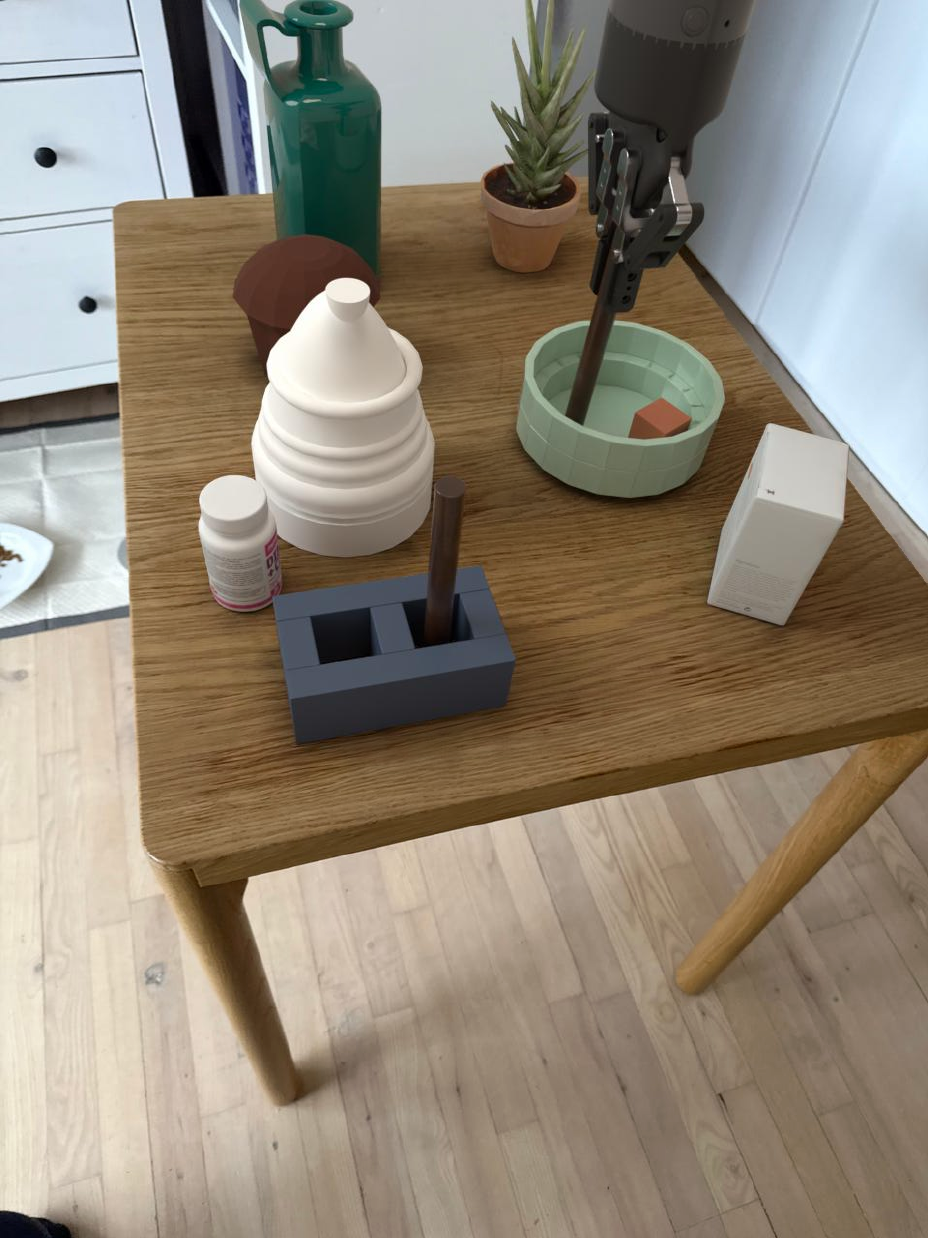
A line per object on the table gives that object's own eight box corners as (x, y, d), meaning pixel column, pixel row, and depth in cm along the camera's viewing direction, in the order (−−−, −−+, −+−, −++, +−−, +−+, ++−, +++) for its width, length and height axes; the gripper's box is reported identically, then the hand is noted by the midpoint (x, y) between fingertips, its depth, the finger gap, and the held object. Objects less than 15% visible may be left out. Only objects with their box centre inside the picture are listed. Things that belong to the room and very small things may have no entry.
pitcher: (356, 240, 89) (352, -20, 72) (387, 285, 84) (390, 19, 67) (260, 254, 86) (231, -14, 69) (286, 302, 81) (262, 29, 64)
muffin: (254, 409, 72) (240, 297, 64) (230, 329, 78) (215, 219, 70) (396, 388, 75) (399, 279, 67) (362, 313, 81) (361, 206, 73)
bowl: (623, 361, 80) (639, 301, 75) (740, 466, 72) (766, 407, 68) (479, 410, 74) (486, 349, 69) (590, 530, 66) (606, 470, 62)
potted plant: (466, 232, 91) (491, -59, 72) (555, 230, 93) (602, -55, 74) (485, 286, 85) (517, -15, 66) (579, 283, 87) (638, -12, 68)
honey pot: (455, 536, 65) (478, 319, 51) (280, 573, 61) (252, 351, 47) (401, 424, 72) (408, 207, 58) (242, 452, 69) (208, 227, 54)
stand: (278, 644, 58) (272, 595, 54) (474, 613, 61) (481, 564, 57) (296, 744, 53) (290, 699, 49) (506, 706, 56) (516, 660, 52)
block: (625, 443, 72) (634, 411, 69) (651, 428, 73) (661, 396, 71) (655, 465, 70) (665, 434, 68) (681, 449, 72) (692, 418, 69)
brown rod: (575, 418, 70) (631, 222, 58) (586, 431, 69) (645, 235, 57) (558, 423, 69) (611, 225, 57) (568, 435, 69) (624, 238, 56)
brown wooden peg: (437, 654, 58) (455, 471, 46) (450, 671, 57) (472, 491, 45) (416, 663, 58) (429, 481, 45) (429, 681, 57) (445, 501, 44)
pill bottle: (288, 607, 60) (278, 518, 53) (216, 620, 58) (196, 530, 52) (277, 555, 62) (266, 465, 56) (207, 566, 61) (187, 475, 55)
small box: (782, 629, 62) (846, 523, 54) (703, 605, 63) (754, 497, 54) (793, 550, 67) (853, 442, 59) (720, 529, 68) (768, 419, 59)
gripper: (802, 61, 44) (700, 356, 58) (692, -36, 52) (625, 244, 66) (664, 63, 43) (592, 366, 56) (571, -38, 50) (528, 250, 64)
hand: (610, 299), depth 61 cm, fingers closed on brown rod, 1 cm apart
